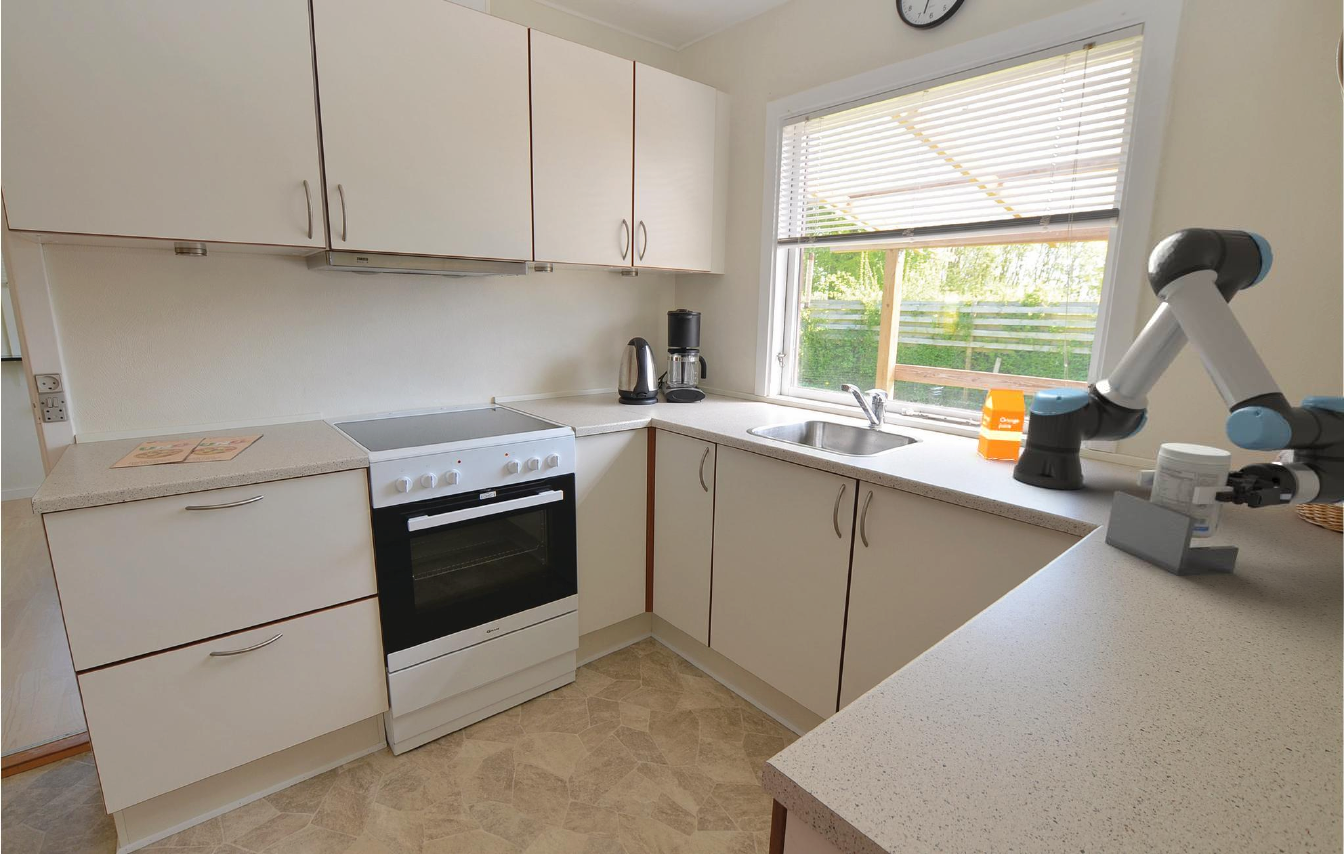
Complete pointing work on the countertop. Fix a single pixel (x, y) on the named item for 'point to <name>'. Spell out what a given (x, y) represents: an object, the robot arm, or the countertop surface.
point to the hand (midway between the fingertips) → (1166, 486)
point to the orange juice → (1002, 424)
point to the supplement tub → (1190, 482)
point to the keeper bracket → (1163, 538)
